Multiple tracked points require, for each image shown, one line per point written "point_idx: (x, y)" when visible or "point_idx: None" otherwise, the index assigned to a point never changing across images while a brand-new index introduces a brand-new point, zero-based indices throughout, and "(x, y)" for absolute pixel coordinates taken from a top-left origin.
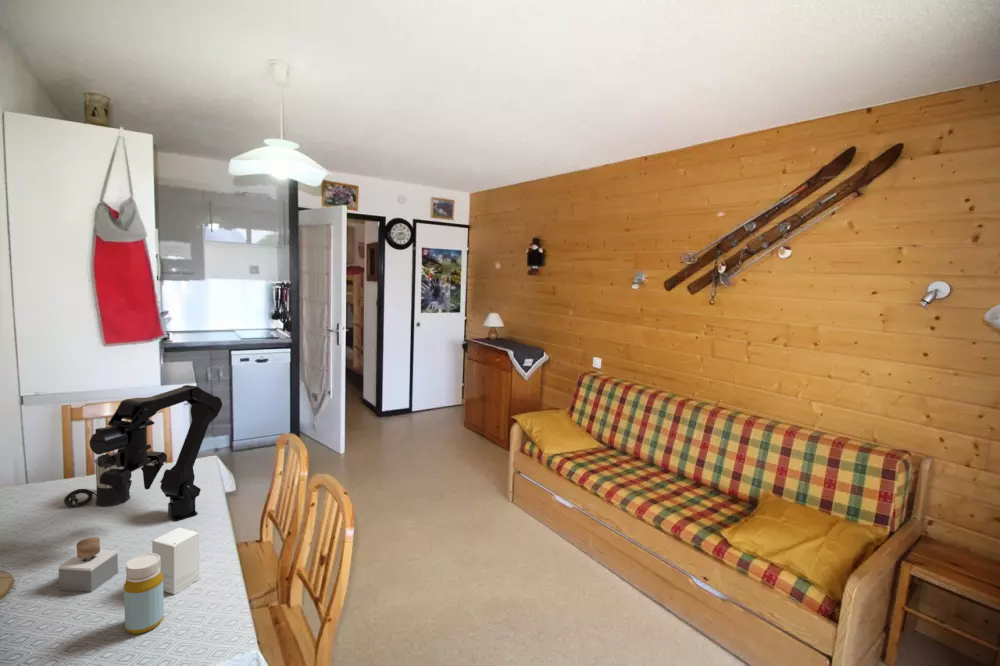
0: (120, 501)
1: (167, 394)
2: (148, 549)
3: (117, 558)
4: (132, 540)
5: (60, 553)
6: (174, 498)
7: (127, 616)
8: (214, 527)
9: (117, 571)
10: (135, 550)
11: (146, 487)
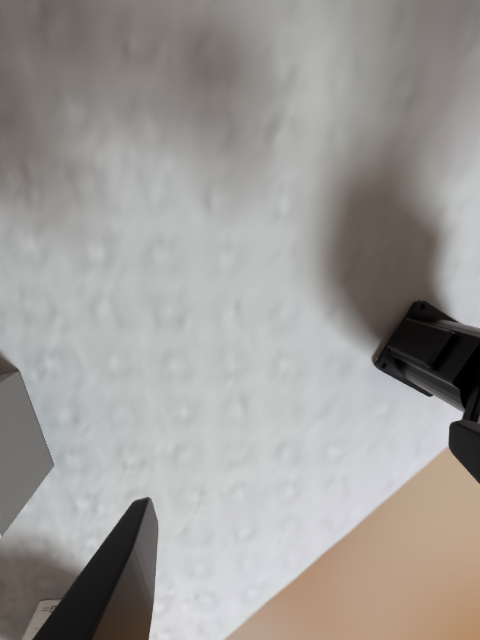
0: (123, 518)
1: None
2: (196, 433)
3: (19, 512)
4: (228, 337)
5: (58, 154)
6: (477, 365)
7: None
8: (358, 496)
9: (49, 469)
10: (177, 402)
11: (467, 448)
